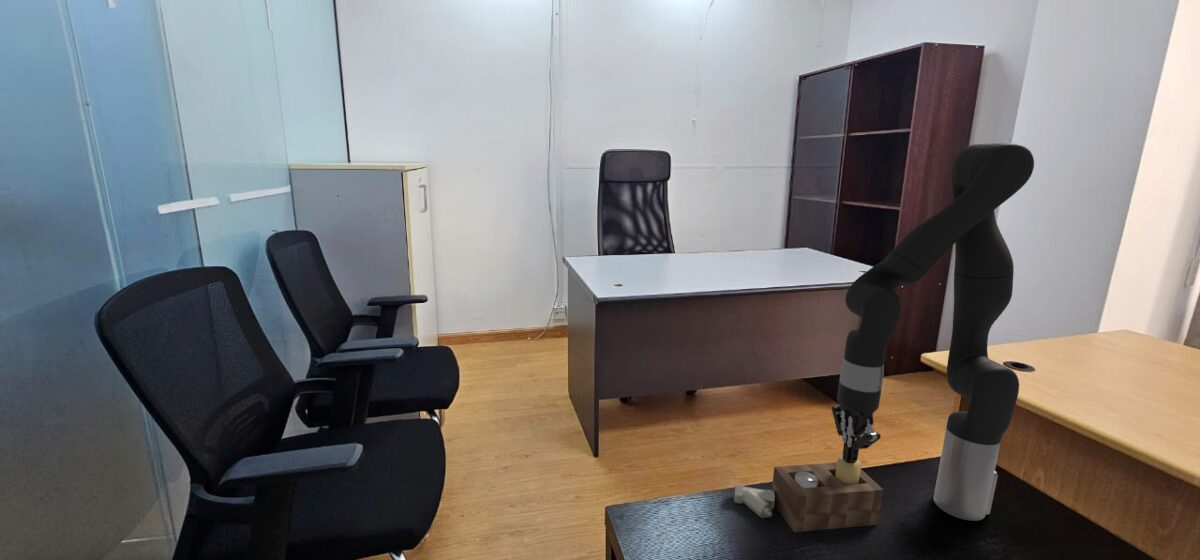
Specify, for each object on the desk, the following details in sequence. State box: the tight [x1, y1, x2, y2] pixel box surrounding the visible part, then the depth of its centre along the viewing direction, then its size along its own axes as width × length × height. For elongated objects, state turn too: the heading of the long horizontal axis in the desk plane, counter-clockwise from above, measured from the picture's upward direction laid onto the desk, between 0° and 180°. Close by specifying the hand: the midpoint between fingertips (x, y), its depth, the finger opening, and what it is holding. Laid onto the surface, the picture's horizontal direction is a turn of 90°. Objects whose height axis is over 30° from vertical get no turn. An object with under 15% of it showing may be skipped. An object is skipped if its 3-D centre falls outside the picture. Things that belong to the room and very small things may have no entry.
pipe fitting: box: [733, 484, 775, 519], centre depth 109 cm, size 8×4×7 cm
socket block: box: [771, 461, 884, 533], centre depth 107 cm, size 18×10×8 cm, turn 98°
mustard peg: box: [835, 454, 862, 485], centre depth 107 cm, size 4×4×8 cm
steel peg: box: [795, 472, 818, 488], centre depth 107 cm, size 4×4×8 cm
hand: (849, 460), depth 106 cm, fingers closed
